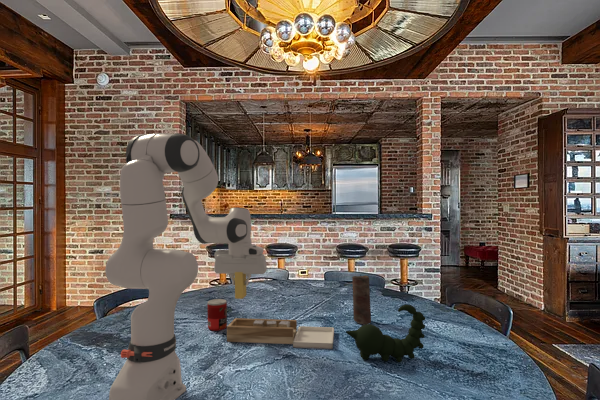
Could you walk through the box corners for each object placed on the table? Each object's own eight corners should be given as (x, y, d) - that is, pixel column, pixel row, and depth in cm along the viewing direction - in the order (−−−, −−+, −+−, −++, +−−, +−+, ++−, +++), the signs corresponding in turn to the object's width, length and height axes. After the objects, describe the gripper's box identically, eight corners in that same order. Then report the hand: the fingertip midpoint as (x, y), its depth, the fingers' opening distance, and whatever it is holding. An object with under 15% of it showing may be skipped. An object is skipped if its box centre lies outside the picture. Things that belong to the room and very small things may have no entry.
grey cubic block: (262, 332, 133) (262, 323, 133) (253, 332, 133) (253, 323, 133) (264, 329, 136) (264, 320, 136) (255, 329, 137) (255, 320, 137)
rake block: (242, 298, 133) (242, 272, 133) (235, 298, 134) (234, 272, 134) (246, 295, 138) (246, 269, 138) (239, 295, 139) (238, 269, 139)
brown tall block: (350, 323, 149) (349, 276, 149) (356, 318, 155) (355, 273, 156) (368, 326, 145) (367, 277, 146) (373, 321, 152) (372, 274, 152)
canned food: (222, 331, 142) (222, 304, 142) (204, 330, 143) (203, 303, 144) (230, 325, 149) (229, 299, 149) (212, 324, 151) (212, 298, 151)
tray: (332, 349, 123) (332, 343, 123) (293, 347, 125) (293, 341, 125) (334, 332, 139) (334, 327, 139) (299, 331, 141) (299, 326, 141)
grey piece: (276, 332, 133) (276, 323, 133) (267, 333, 132) (267, 324, 132) (275, 329, 136) (275, 320, 136) (266, 330, 136) (266, 321, 136)
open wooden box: (293, 344, 128) (292, 329, 128) (226, 341, 131) (226, 326, 131) (296, 334, 138) (296, 319, 138) (235, 331, 141) (235, 318, 141)
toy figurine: (416, 357, 119) (342, 351, 120) (420, 302, 119) (346, 295, 120) (425, 371, 110) (345, 363, 111) (429, 310, 110) (349, 303, 111)
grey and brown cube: (287, 334, 131) (287, 324, 131) (278, 333, 132) (278, 323, 132) (290, 330, 135) (290, 321, 135) (281, 329, 136) (281, 320, 136)
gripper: (211, 250, 134) (211, 286, 134) (263, 250, 132) (264, 287, 132) (217, 248, 141) (217, 282, 140) (267, 248, 138) (267, 283, 138)
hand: (240, 285), depth 136 cm, fingers closed on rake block, 3 cm apart
